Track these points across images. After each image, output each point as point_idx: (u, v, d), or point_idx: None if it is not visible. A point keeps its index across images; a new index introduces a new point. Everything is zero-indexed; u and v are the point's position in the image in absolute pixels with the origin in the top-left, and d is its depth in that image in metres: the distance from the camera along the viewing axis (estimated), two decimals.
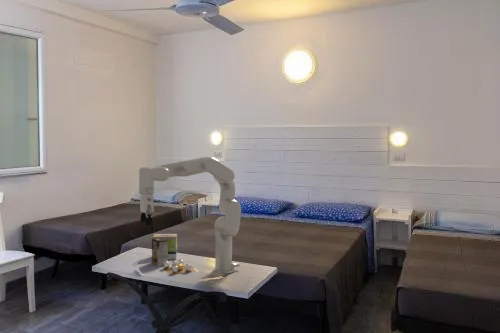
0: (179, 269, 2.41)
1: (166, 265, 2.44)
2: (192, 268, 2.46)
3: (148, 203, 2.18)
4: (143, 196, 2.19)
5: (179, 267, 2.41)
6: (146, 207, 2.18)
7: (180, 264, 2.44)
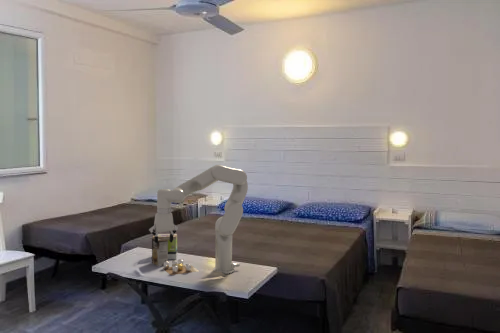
0: (179, 269, 2.41)
1: (166, 265, 2.44)
2: (192, 268, 2.46)
3: None
4: (169, 216, 2.37)
5: (179, 267, 2.41)
6: (173, 225, 2.39)
7: (180, 264, 2.44)
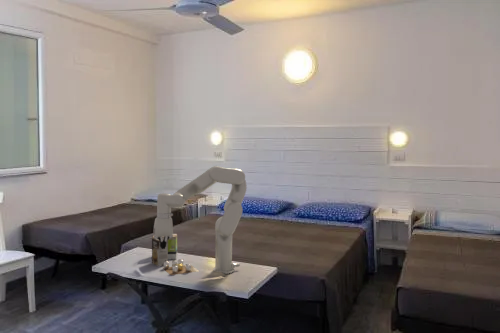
0: (179, 269, 2.41)
1: (166, 265, 2.44)
2: (192, 268, 2.46)
3: None
4: (169, 220, 2.37)
5: (179, 267, 2.41)
6: (172, 229, 2.39)
7: (180, 264, 2.44)
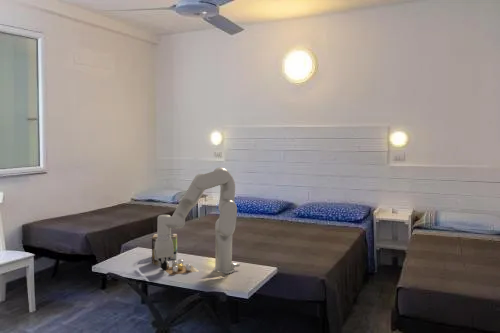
0: (179, 269, 2.41)
1: None
2: (192, 268, 2.46)
3: None
4: (170, 241, 2.38)
5: (179, 267, 2.41)
6: None
7: (180, 264, 2.44)
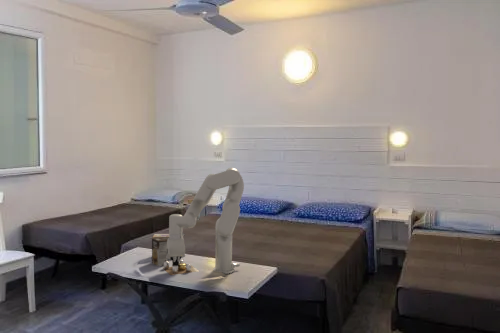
0: (182, 269, 2.42)
1: (166, 265, 2.44)
2: (192, 268, 2.46)
3: None
4: (181, 241, 2.41)
5: (182, 267, 2.42)
6: (184, 249, 2.43)
7: (183, 264, 2.44)
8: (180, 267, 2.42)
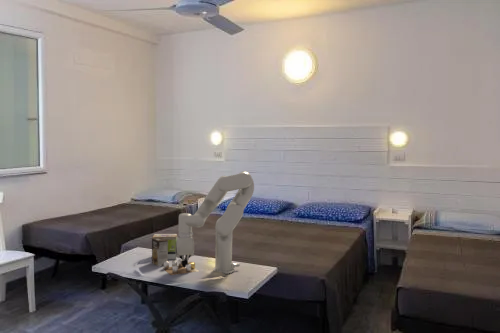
0: (191, 267, 2.45)
1: (166, 265, 2.44)
2: None
3: None
4: (190, 239, 2.44)
5: (191, 265, 2.45)
6: None
7: (192, 262, 2.47)
8: None
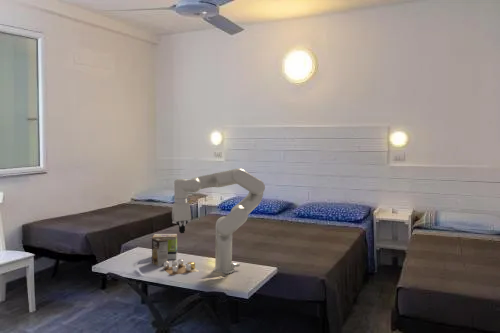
0: (191, 267, 2.45)
1: (166, 265, 2.44)
2: None
3: None
4: (187, 205, 2.41)
5: (191, 265, 2.45)
6: (190, 214, 2.44)
7: (192, 262, 2.47)
8: None
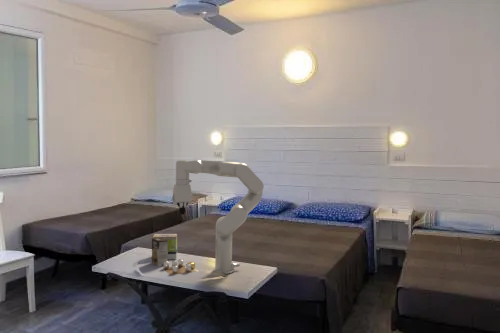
0: (191, 267, 2.45)
1: (166, 265, 2.44)
2: None
3: None
4: (188, 186, 2.41)
5: (191, 265, 2.45)
6: None
7: (192, 262, 2.47)
8: None
